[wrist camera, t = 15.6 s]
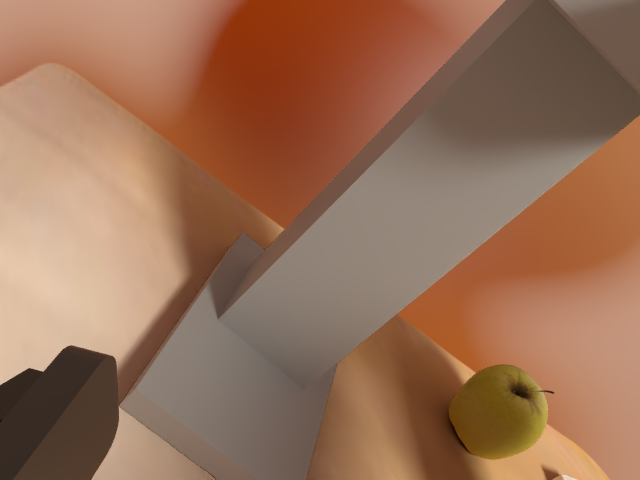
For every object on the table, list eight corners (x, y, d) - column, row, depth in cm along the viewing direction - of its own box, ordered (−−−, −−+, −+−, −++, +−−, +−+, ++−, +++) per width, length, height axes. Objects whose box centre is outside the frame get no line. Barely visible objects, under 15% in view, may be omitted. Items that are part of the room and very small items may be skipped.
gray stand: (229, 246, 53) (522, -73, 38) (334, 332, 55) (650, 61, 40) (118, 405, 35) (580, -70, 21) (277, 523, 37) (802, 167, 23)
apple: (501, 415, 63) (581, 386, 56) (483, 482, 58) (571, 459, 51) (445, 366, 62) (521, 330, 55) (422, 430, 57) (503, 399, 50)
